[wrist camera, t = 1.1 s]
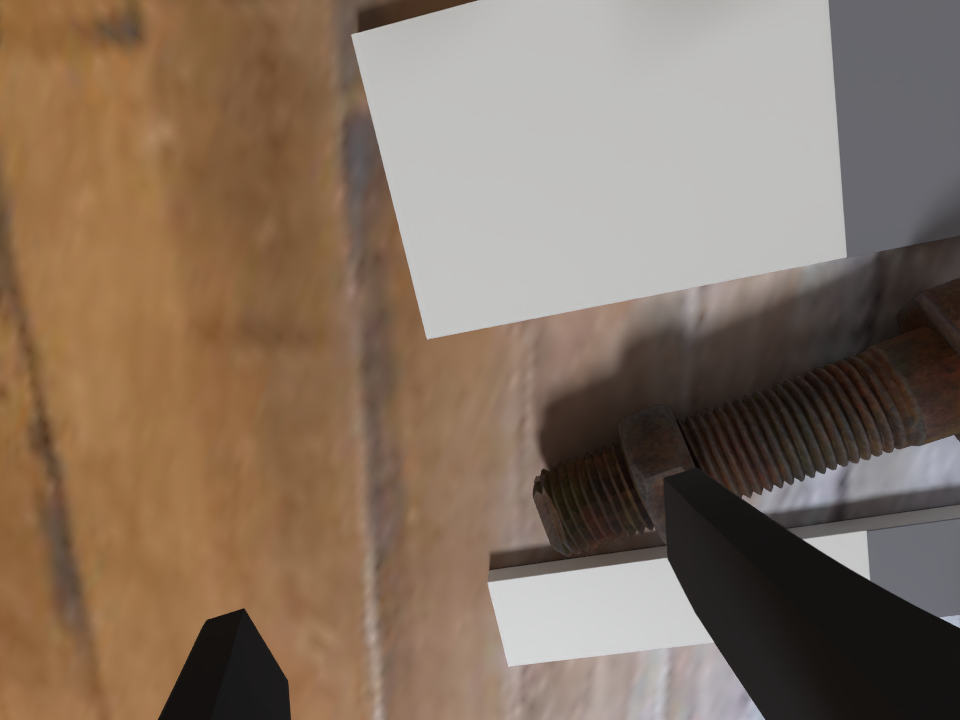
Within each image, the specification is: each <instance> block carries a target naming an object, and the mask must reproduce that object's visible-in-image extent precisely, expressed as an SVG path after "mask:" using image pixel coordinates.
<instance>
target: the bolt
mask: <svg viewBox="0 0 960 720" xmlns="http://www.w3.org/2000/svg"><path fill="white" fill-rule="evenodd" d="M896 316H897V320H898V323H899V326H900V329H901V332H902V335H899V336H896V337H893V338H891V339H888V340H885V341H883V342H880V343H877V344H874V345H872V346H869V347H867V348H866V349H865V351H863V352H860V353H858V354H857V355H856V356H851V357H848V358H846V359H845V361H843V360H838V361H836V362H835V364H834V365H832V364H828V365H826V366H824V369H822V368H816V369H815V371H814V373H812V372H807V373H805V374H804V378H802V377H801V376H795V378H794V381H793V382H791V381H790V380H789V379H788V380H785V381H784V384H783V386H781V385H780V384H778V383H776V384H774V387H773V390H771V389H770V388H769V387H765V388H764V391H763V394H762V393H760V392H759V391H755V392H754V393H753V397H751V396H749V395H748V394H747V395H744V400H743V402H742V401H741V400H739V399H737V398H735V399H734V403H733V405H732V404H730V403H729V402H726V403H724V407H723V409H722V408H721V407H719V406H718V405H717V406H715V409H714V412H711V411H710V410H708V409H706V411H705V414H704V416H702V415H701V414H699V413H696V415H695V418H694V419H692V418H690V417H688V416H687V417H686V420H685V423H683V422H681V421H679V420H677V422H676V420H675V417H674V415H673V413H672V411H671V408H670V406H666V405H656V406H653V407H651V408H648V409H646V410H643V411H640V412H638V413H635V414H632V415H630V416H627V417H625V418H624V419H623V420H621V421H620V423H619V425H618V432H619V436H620V439H621V444H620V447H619V446H617V445H615V444H612V447H611V450H610V449H608V448H606V447H604V448H603V452H602V453H601V452H599V451H597V450H595V452H594V456H592V455H590V454H588V453H586V457H585V459H583V458H581V457H579V456H578V457H577V460H576V462H574V461H571V460H568V463H567V466H566V465H564V464H562V463H559V465H558V469H557V468H556V467H554V466H551V467H550V471H549V472H548V471H547V470H545V469H542V471H541V475H540V476H536V478H535V481H534V483H535V484H534V488H533V499H534V502H535V504H536V507H537V510H538V512H539V515H540V518H541V521H542V523H543V526H544V528H545V531H546V534H547V536H548V539H549V542H550V544H551V546H552V547H553V548H554V550H556V551H558V552H560V553H561V554H563V555H565V556H567V557H569V556H572V555H573V553H574V554H576V555H579V554H580V553H581V550H583V551H584V552H588V551H589V548H590V546H591V547H592V548H594V549H596V548H597V547H598V545H599V543H600V544H601V545H602V546H606V545H607V542H608V540H609V541H611V542H612V543H615V542H616V540H617V537H619V538H621V539H622V540H624V539H625V537H626V534H628V535H630V536H631V537H634V535H635V532H636V530H637V531H638V532H640V533H641V534H643V532H644V529H645V527H646V528H648V529H649V530H651V531H652V529H653V527H655V529H656V531H657V533H658V535H659V536H660V538H661V540H662V541H663V542H664V543H665V544H667V541H666V522H665V502H664V483H663V478H664V477H668V476H671V475H674V474H677V473H681V472H684V471H687V470H690V469H693V468H698V469H700V470H702V471H703V472H705V473H706V474H707V475H709V476H710V477H712V478H713V479H715V480H716V481H717V482H719V483H720V484H722V485H723V486H724V487H726V488H727V489H729V490H730V491H732V492H733V493H734V494H736V495H737V496H739V497H740V498H742V495H745V496H747V497H748V498H750V499H751V496H752V492H753V491H754V492H756V493H757V494H759V495H762V491H763V488H765V489H766V490H768V491H770V492H771V491H772V488H773V485H776V486H777V487H779V488H782V487H783V483H784V481H785V482H787V483H788V484H790V485H792V484H793V483H794V477H795V478H796V479H798V480H800V481H801V482H802V481H804V479H805V474H806V475H807V476H809V477H811V478H814V477H815V472H816V471H818V472H820V473H822V474H825V472H826V467H827V468H829V469H831V470H836V468H837V464H839V465H841V466H843V467H844V466H847V465H848V460H849V461H850V462H852V463H859V460H860V458H862V459H864V460H870V457H871V454H872V455H874V456H878V457H879V456H880V455H882V451H884V452H886V453H891V452H893V449H894V447H895V448H896V449H902V448H906V447H909V446H921V445H924V444H927V443H930V442H933V441H936V440H940V439H943V438H946V437H949V436H952V435H955V437H956V438H957V439H958V440H959V442H960V278H958V279H955V280H952V281H950V282H947V283H944V284H942V285H939V286H936V287H934V288H931V289H928V290H925V291H923V292H921V293H920V294H919V295H918V296H917V297H916V298H914V299H913V300H912V301H911V302H910V303H909V304H908V305H907V306H905V307H904V308H903V309H902V310H901V311H900V312H899V313H898V314H897V315H896Z"/></svg>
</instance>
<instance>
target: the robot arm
mask: <svg viewBox="0 0 960 720" xmlns="http://www.w3.org/2000/svg"><path fill="white" fill-rule="evenodd" d="M663 483H664V502H665V522H666V541H667V559H668V561H669V563H670V565H671V567H672V569H673V571H674V573H675V575H676V577H677V579H678V581H679V583H680V585H681V587H682V589H683V591H684V593H685V595H686V596H687V598H688V600H689V602H690V604H691V606H692V608H693V610H694V612H695V614H696V615H697V617H698V618H699V620H700V621H701V623H702V624H703V626H704V628H705V629H706V631H707V632H708V634H709V635H710V637H711V638H712V640H713V641H714V643H715V644H716V646H717V647H718V649H719V650H720V652H721V653H722V655H723V656H724V658H725V660H726V661H727V663H728V664H729V666H730V667H731V669H732V670H733V672H734V673H735V675H736V676H737V678H738V679H739V681H740V682H741V684H742V685H743V687H744V688H745V690H746V691H747V693H748V694H749V696H750V697H751V699H752V700H753V702H754V703H755V705H756V706H757V708H758V709H759V711H760V712H761V714H762V715H763V717H764V718H765V720H960V628H958V627H956V626H954V625H952V624H950V623H948V622H947V621H945V620H943V619H941V618H939V617H937V616H935V615H933V614H931V613H929V612H927V611H925V610H923V609H921V608H919V607H917V606H915V605H913V604H911V603H910V602H908V601H906V600H904V599H902V598H900V597H898V596H897V595H895V594H893V593H891V592H889V591H888V590H886V589H884V588H882V587H880V586H879V585H877V584H875V583H873V582H872V581H870V580H868V579H867V578H865V577H863V576H861V575H860V574H858V573H856V572H855V571H853V570H851V569H849V568H848V567H846V566H844V565H843V564H841V563H839V562H838V561H836V560H834V559H833V558H831V557H830V556H828V555H826V554H825V553H823V552H822V551H820V550H818V549H817V548H815V547H814V546H812V545H811V544H809V543H807V542H806V541H804V540H803V539H801V538H800V537H798V536H796V535H795V534H793V533H792V532H790V531H789V530H787V529H786V528H784V527H783V526H781V525H780V524H778V523H777V522H775V521H774V520H772V519H771V518H769V517H768V516H766V515H765V514H763V513H762V512H760V511H759V510H757V509H756V508H755V507H753V506H752V505H750V504H749V503H747V502H746V501H744V500H743V499H742V498H740V497H739V496H737V495H736V494H734V493H733V492H732V491H730V490H729V489H727V488H726V487H724V486H723V485H722V484H720V483H719V482H717V481H716V480H715V479H713V478H712V477H710V476H709V475H707V474H706V473H705V472H703V471H702V470H700V469H698V468H693V469H690V470H687V471H684V472H681V473H677V474H674V475H671V476H668V477H664V478H663ZM158 720H291V714H290V700H289V686H288V680H287V678H286V677H285V675H284V673H283V672H282V670H281V668H280V667H279V665H278V663H277V662H276V660H275V658H274V657H273V655H272V653H271V652H270V650H269V649H268V647H267V645H266V644H265V642H264V640H263V639H262V637H261V635H260V634H259V632H258V630H257V629H256V627H255V625H254V624H253V622H252V620H251V619H250V617H249V615H248V614H247V612H246V610H245V609H240V610H237V611H234V612H231V613H228V614H224V615H221V616H218V617H215V618H212V619H208V620H206V622H205V624H204V625H203V627H202V629H201V631H200V633H199V635H198V637H197V639H196V641H195V643H194V646H193V648H192V650H191V652H190V654H189V656H188V658H187V660H186V662H185V665H184V667H183V669H182V671H181V673H180V675H179V677H178V679H177V681H176V684H175V686H174V688H173V690H172V692H171V694H170V696H169V698H168V700H167V702H166V704H165V706H164V708H163V710H162V712H161V714H160V716H159V718H158Z"/></svg>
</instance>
